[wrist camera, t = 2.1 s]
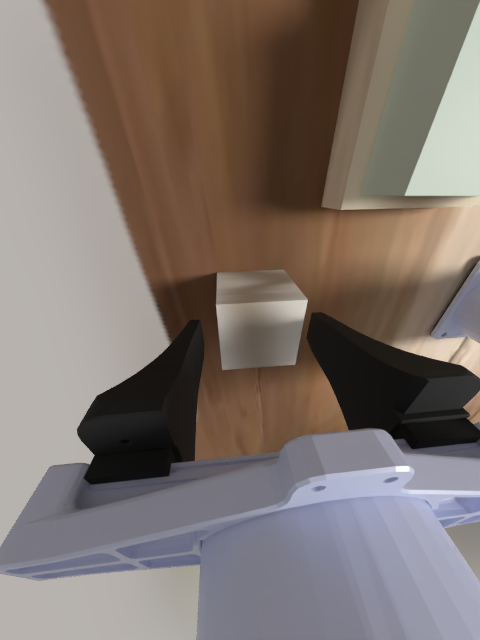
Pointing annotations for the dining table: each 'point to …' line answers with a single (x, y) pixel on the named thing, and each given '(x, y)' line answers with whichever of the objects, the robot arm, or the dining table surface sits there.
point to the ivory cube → (258, 318)
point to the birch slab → (371, 110)
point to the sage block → (432, 107)
